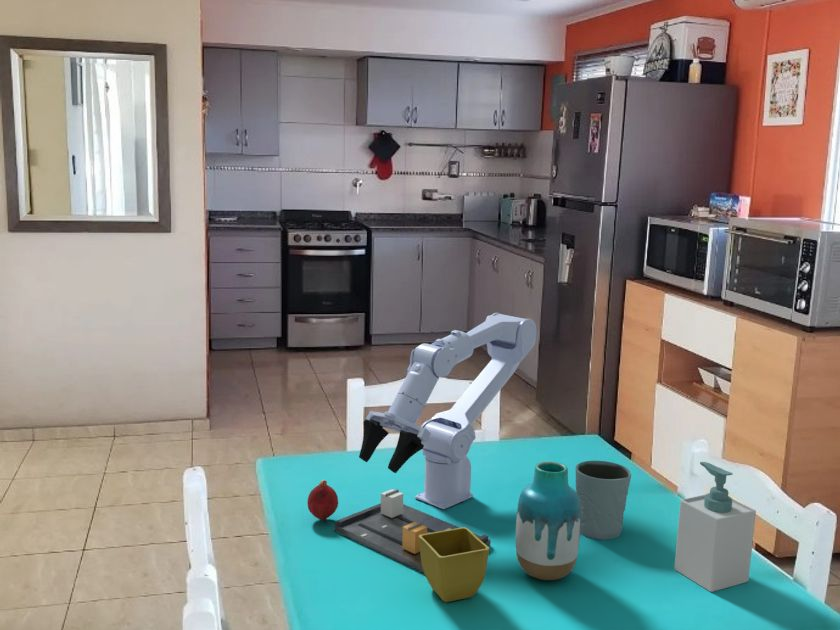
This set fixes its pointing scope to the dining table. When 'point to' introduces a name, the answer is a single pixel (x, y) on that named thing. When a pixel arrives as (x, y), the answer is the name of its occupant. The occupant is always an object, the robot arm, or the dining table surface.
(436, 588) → the flower pot
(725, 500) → the soap bottle
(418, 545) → the fader
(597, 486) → the grey textured cup
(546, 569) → the vase
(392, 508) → the fader
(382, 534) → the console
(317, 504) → the onion
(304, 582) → the dining table surface
